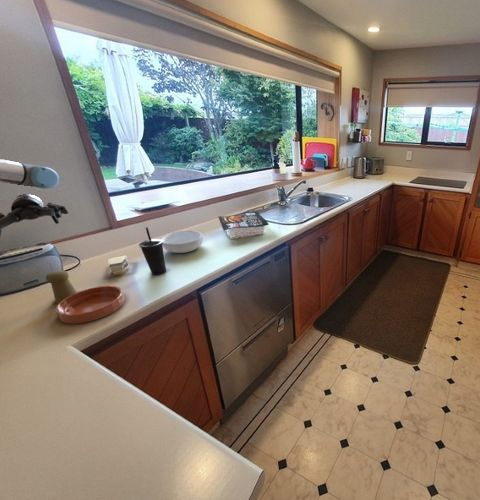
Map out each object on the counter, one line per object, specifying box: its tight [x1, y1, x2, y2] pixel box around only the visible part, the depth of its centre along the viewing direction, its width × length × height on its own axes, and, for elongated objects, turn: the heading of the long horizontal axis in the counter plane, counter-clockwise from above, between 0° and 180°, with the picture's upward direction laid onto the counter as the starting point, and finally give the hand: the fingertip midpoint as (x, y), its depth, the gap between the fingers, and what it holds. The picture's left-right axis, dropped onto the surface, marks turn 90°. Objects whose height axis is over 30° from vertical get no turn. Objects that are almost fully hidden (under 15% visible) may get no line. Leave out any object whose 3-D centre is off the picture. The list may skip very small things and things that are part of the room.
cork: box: [45, 269, 78, 304], centre depth 94 cm, size 6×6×11 cm
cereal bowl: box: [160, 230, 204, 254], centre depth 133 cm, size 17×17×7 cm
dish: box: [55, 285, 126, 325], centre depth 91 cm, size 16×16×4 cm
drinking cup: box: [138, 226, 167, 276], centre depth 110 cm, size 8×8×20 cm
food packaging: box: [217, 211, 270, 240], centre depth 157 cm, size 25×8×23 cm
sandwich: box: [107, 255, 130, 276], centre depth 113 cm, size 10×9×6 cm
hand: (26, 226), depth 88 cm, fingers open, 13 cm apart
